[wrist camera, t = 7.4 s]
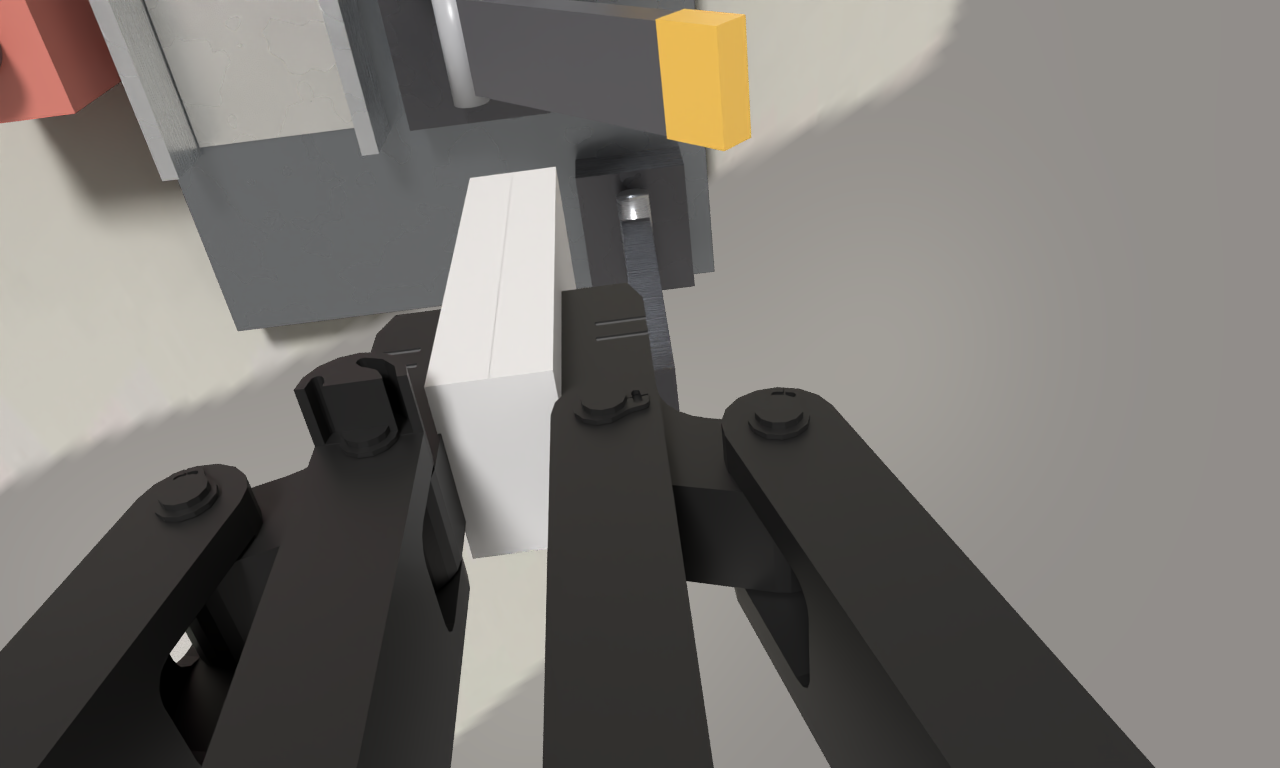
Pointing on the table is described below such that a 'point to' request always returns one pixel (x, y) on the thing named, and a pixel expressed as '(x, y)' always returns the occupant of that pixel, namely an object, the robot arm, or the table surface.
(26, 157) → the table surface
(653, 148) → the metal switch board
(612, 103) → the switch lever
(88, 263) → the table surface
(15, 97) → the cap
